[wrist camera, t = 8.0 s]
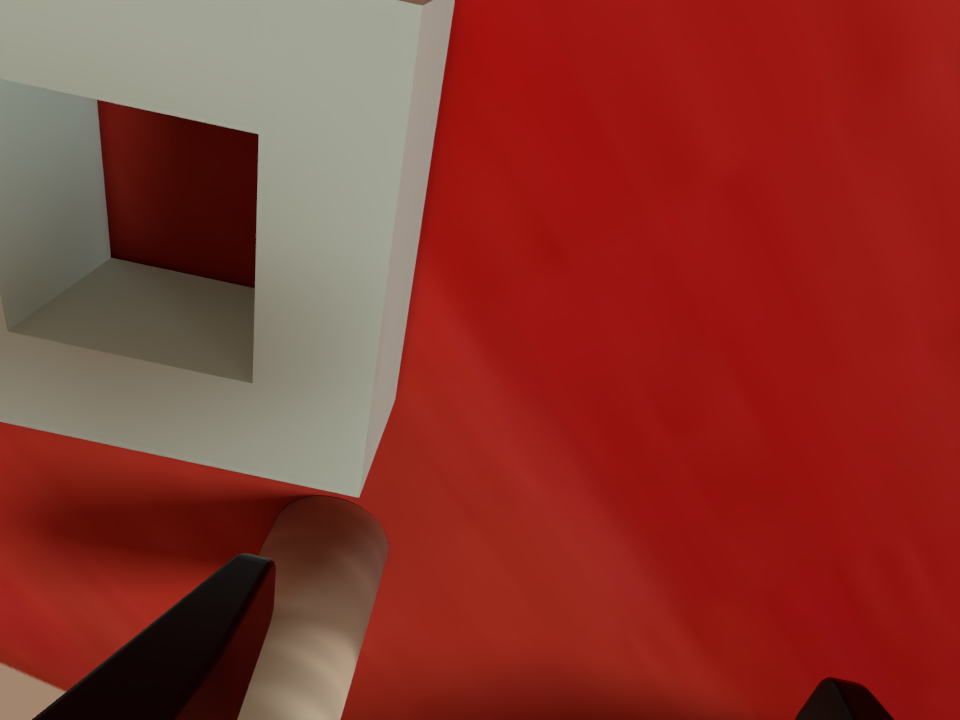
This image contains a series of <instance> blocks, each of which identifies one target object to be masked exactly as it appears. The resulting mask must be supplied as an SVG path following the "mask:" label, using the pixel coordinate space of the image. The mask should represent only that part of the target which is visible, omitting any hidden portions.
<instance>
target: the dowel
mask: <svg viewBox="0 0 960 720" xmlns="http://www.w3.org/2000/svg"><path fill="white" fill-rule="evenodd" d="M388 549H389V546H388V540H387V536H386V534H385V532H384V530H383V528H382V526H381V525H380V524H379V522H378V521H377V520H376V519H375V518H374V517H373V516H372V515H371V514H370V513H368V512H367V511H366V510H364V509H363V508H361V507H359V506H358V505H355V504H353V503H351V502H349V501H346V500H343V499H339V498H335V497H329V496H311V497H305V498H301V499H298V500H296V501H294V502H292V503H290V504H288V505H287V506H286V507H285V508H283V509H282V511H281V512H280V513H279V515H278V517H277V518H276V520H275V522H274V524H273V526H272V528H271V530H270V532H269V534H268V536H267V539H266V541H265V543H264V545H263V547H262V549H261V551H260V553H259V555H258V556H262V557H267V558H270V559H272V560H273V561H274V562H275V565H276V580H275V598H274V610H273V615H272V619H271V623H270V626H269V629H268V632H267V635H266V638H265V641H264V644H263V647H262V649H261V652H260V655H259V658H258V661H257V664H256V667H255V670H254V673H253V676H252V678H251V681H250V684H249V687H248V690H247V693H246V696H245V699H244V702H243V705H242V707H241V710H240V713H239V716H238V719H237V720H340V719H341V716H342V712H343V709H344V705H345V702H346V698H347V695H348V692H349V688H350V685H351V681H352V678H353V674H354V671H355V667H356V664H357V660H358V657H359V653H360V650H361V646H362V643H363V639H364V636H365V632H366V629H367V625H368V622H369V618H370V615H371V611H372V608H373V604H374V601H375V598H376V594H377V591H378V587H379V584H380V580H381V577H382V573H383V570H384V566H385V563H386V559H387V556H388Z"/></svg>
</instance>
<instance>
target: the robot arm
mask: <svg viewBox="0 0 960 720" xmlns="http://www.w3.org/2000/svg"><path fill="white" fill-rule="evenodd" d="M275 580H276V565H275V562H274V561H273V560H272V559H270V558H267V557H262V556H257V555H252V554H248V553H242V554H239V555H237V556H235V557H234V558H233V559H231V560H230V561H229V562H228V563H226V564H225V565H224V566H223V567H221V568H220V569H219V570H218V571H216V572H215V573H214V574H213V575H211V576H210V577H209V578H208V579H206V580H205V581H204V582H203V583H201V584H200V585H199V586H198V587H196V588H195V589H194V590H193V591H191V592H190V593H189V594H188V595H186V596H185V597H184V598H183V599H181V600H180V601H179V602H178V603H177V604H175V605H174V606H173V607H172V608H170V609H169V610H168V611H167V612H165V613H164V614H163V615H162V616H160V617H159V618H158V619H157V620H155V621H154V622H153V623H152V624H150V625H149V626H148V627H147V628H145V629H144V630H143V631H142V632H140V633H139V634H138V635H137V636H135V637H134V638H133V639H132V640H130V641H129V642H128V643H127V644H126V645H124V646H123V647H122V648H121V649H119V650H118V651H117V652H116V653H114V654H113V655H112V656H111V657H109V658H108V659H107V660H106V661H104V662H103V663H102V664H101V665H99V666H98V667H97V668H96V669H94V670H93V671H92V672H91V673H89V674H88V675H87V676H86V677H84V678H83V679H82V680H81V681H79V682H78V683H77V684H76V685H74V686H73V687H72V688H71V689H70V690H68V691H67V692H66V693H65V694H63V695H62V696H61V697H60V698H59V699H57V700H56V701H55V702H53V703H52V704H51V705H50V706H48V707H47V708H46V709H45V710H43V711H42V712H41V713H40V714H38V715H37V716H36V717H35V718H33V719H32V720H237V719H238V716H239V713H240V710H241V707H242V705H243V702H244V699H245V696H246V693H247V690H248V687H249V684H250V681H251V678H252V676H253V673H254V670H255V667H256V664H257V661H258V658H259V655H260V652H261V649H262V647H263V644H264V641H265V638H266V635H267V632H268V629H269V626H270V623H271V619H272V615H273V610H274V598H275ZM795 720H894V719H893V717H892V716H891V715H890V714H889V713H888V712H887V710H886V709H885V708H884V707H883V706H882V705H881V704H880V702H879V701H878V700H877V699H876V698H875V697H874V695H873V694H872V693H871V692H870V691H869V690H868V689H867V688H866V687H864V686H863V685H861V684H859V683H856V682H851V681H847V680H842V679H837V678H832V677H828V678H826V679H824V680H822V681H821V682H820V683H819V684H818V686H817V687H816V689H815V690H814V692H813V693H812V694H811V696H810V697H809V699H808V700H807V702H806V703H805V704H804V706H803V707H802V709H801V710H800V712H799V713H798V715H797V717H796V719H795Z"/></svg>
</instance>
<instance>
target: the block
mask: <svg viewBox="0 0 960 720" xmlns="http://www.w3.org/2000/svg"><path fill="white" fill-rule="evenodd" d="M454 2H455V0H0V422H4V423H9V424H14V425H18V426H23V427H28V428H33V429H37V430H42V431H47V432H52V433H56V434H61V435H66V436H70V437H75V438H80V439H85V440H89V441H94V442H99V443H103V444H108V445H113V446H118V447H122V448H127V449H132V450H136V451H141V452H146V453H151V454H155V455H160V456H165V457H169V458H174V459H179V460H184V461H188V462H193V463H198V464H202V465H207V466H212V467H217V468H221V469H226V470H231V471H235V472H240V473H245V474H250V475H254V476H259V477H264V478H269V479H273V480H278V481H283V482H287V483H292V484H297V485H302V486H306V487H311V488H316V489H320V490H325V491H330V492H335V493H339V494H344V495H349V496H353V497H358V498H359V496H360V494H361V491H362V488H363V486H364V483H365V480H366V477H367V475H368V472H369V469H370V467H371V464H372V461H373V458H374V456H375V453H376V450H377V448H378V445H379V442H380V439H381V437H382V434H383V431H384V428H385V426H386V423H387V420H388V418H389V415H390V412H391V409H392V407H393V404H394V401H395V396H396V390H397V383H398V376H399V370H400V363H401V356H402V350H403V343H404V336H405V330H406V323H407V316H408V310H409V303H410V296H411V289H412V283H413V276H414V269H415V263H416V256H417V249H418V243H419V236H420V229H421V223H422V216H423V209H424V203H425V196H426V189H427V183H428V176H429V169H430V163H431V156H432V149H433V143H434V136H435V129H436V123H437V116H438V109H439V103H440V96H441V89H442V82H443V76H444V69H445V62H446V56H447V49H448V42H449V36H450V29H451V22H452V16H453V9H454ZM97 100H101V101H106V102H111V103H115V104H120V105H125V106H129V107H134V108H139V109H143V110H148V111H153V112H157V113H162V114H166V115H171V116H176V117H180V118H185V119H190V120H194V121H199V122H204V123H208V124H213V125H218V126H222V127H227V128H232V129H236V130H241V131H246V132H250V133H255V134H259V140H258V182H257V223H256V265H255V288H251V287H246V286H242V285H237V284H232V283H228V282H223V281H218V280H214V279H209V278H204V277H200V276H195V275H190V274H186V273H181V272H176V271H172V270H167V269H162V268H157V267H153V266H148V265H143V264H139V263H134V262H129V261H125V260H120V259H115V258H111V252H110V241H109V230H108V219H107V207H106V196H105V185H104V174H103V163H102V151H101V140H100V129H99V118H98V106H97Z"/></svg>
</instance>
